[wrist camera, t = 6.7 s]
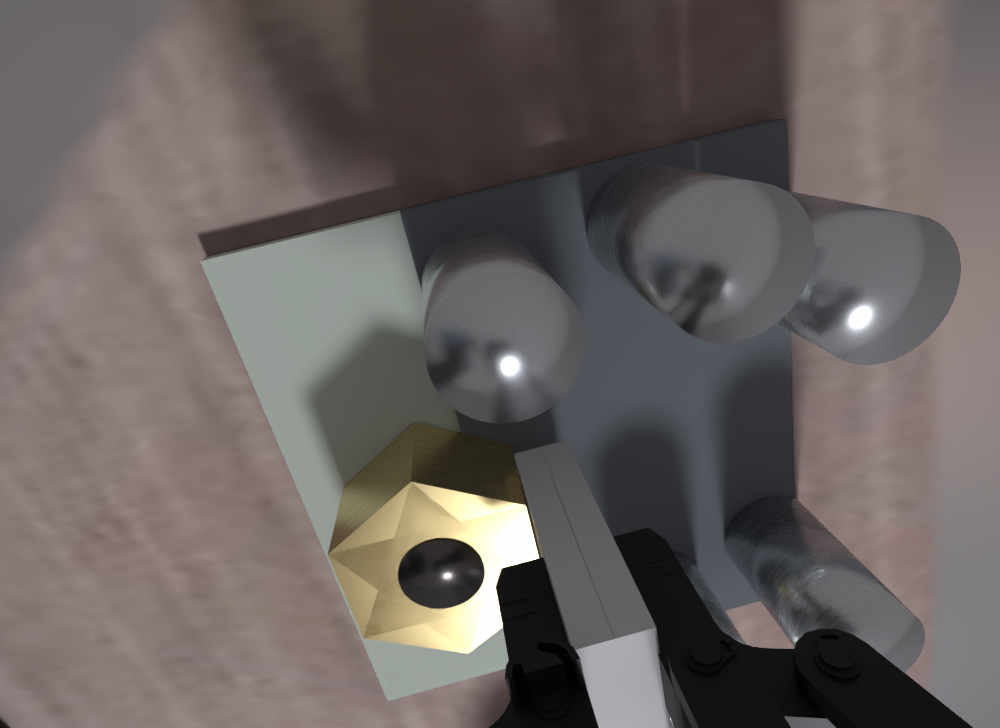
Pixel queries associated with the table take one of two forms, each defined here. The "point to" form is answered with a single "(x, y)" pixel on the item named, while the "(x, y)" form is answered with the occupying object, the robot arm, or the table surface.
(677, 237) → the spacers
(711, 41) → the table surface
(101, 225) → the table surface
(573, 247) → the mat
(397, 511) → the nut
